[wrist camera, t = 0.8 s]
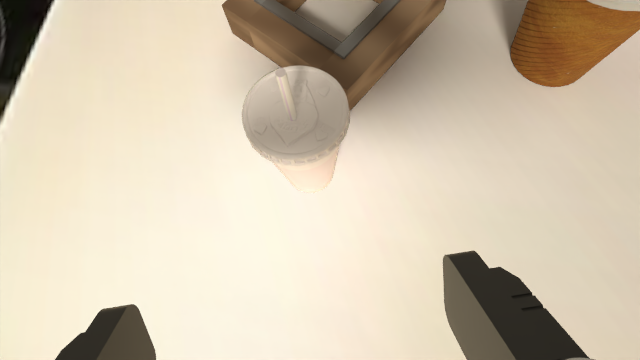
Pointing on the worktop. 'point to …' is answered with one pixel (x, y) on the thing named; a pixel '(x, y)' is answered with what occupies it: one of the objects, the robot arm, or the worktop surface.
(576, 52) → the disposable coffee cup
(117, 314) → the robot arm
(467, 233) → the worktop surface
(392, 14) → the socket block
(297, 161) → the smoothie
